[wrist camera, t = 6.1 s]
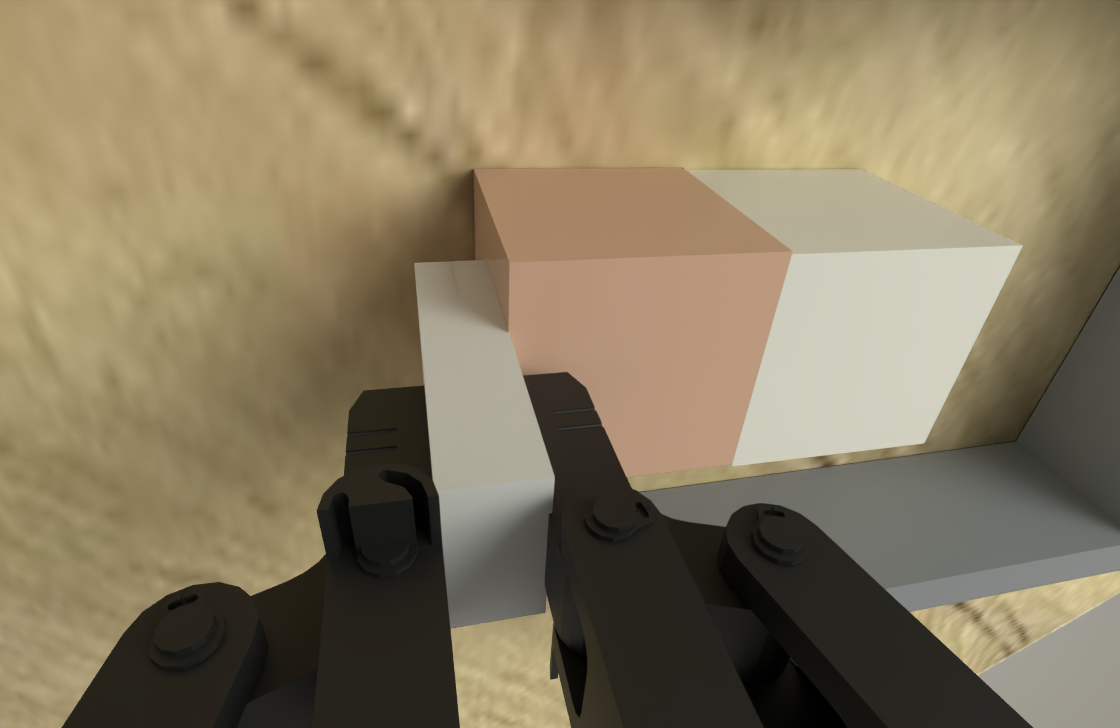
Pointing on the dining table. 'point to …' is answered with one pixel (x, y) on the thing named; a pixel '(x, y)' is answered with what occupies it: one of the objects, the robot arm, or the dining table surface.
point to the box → (969, 494)
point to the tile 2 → (861, 309)
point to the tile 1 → (635, 300)
